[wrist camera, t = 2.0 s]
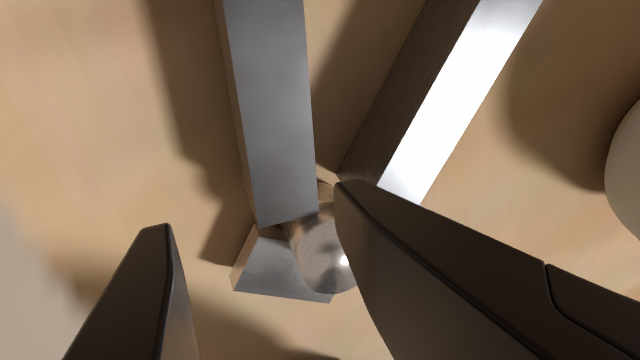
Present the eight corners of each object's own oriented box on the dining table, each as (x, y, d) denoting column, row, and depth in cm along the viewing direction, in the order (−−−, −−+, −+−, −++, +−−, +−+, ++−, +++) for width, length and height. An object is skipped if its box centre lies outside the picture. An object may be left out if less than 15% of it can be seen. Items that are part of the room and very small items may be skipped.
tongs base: (324, 283, 27) (352, 343, 23) (227, 268, 24) (244, 333, 21) (605, -216, 18) (709, -229, 15) (500, -319, 16) (599, -361, 12)
